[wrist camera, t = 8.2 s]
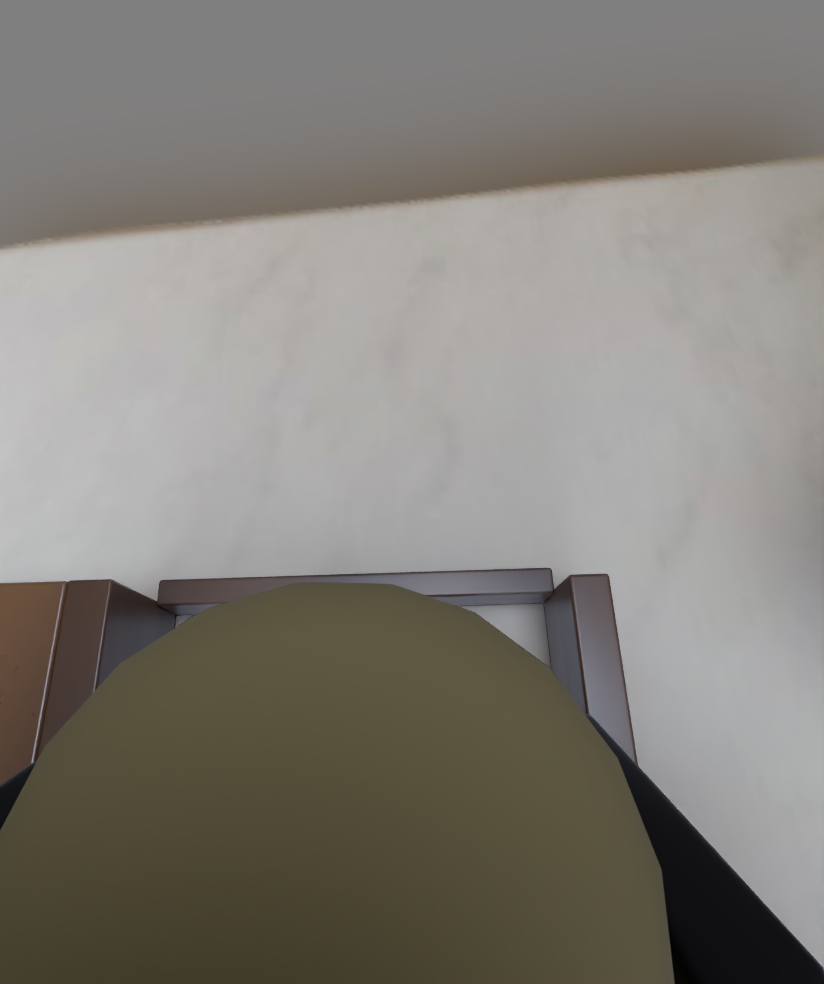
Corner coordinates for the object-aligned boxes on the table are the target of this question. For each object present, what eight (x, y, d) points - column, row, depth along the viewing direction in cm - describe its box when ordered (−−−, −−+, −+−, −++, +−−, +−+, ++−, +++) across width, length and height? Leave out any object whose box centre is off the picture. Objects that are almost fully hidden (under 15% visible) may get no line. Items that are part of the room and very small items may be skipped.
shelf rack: (574, 578, 18) (619, 538, 14) (628, 978, 14) (705, 1068, 10) (-244, 604, 17) (-425, 571, 14) (-393, 1022, 14) (-690, 1131, 10)
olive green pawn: (284, 634, 15) (9, 417, 5) (529, 679, 14) (816, 552, 4) (211, 923, 13) (-624, 1726, 2) (497, 985, 12) (939, 2235, 2)
